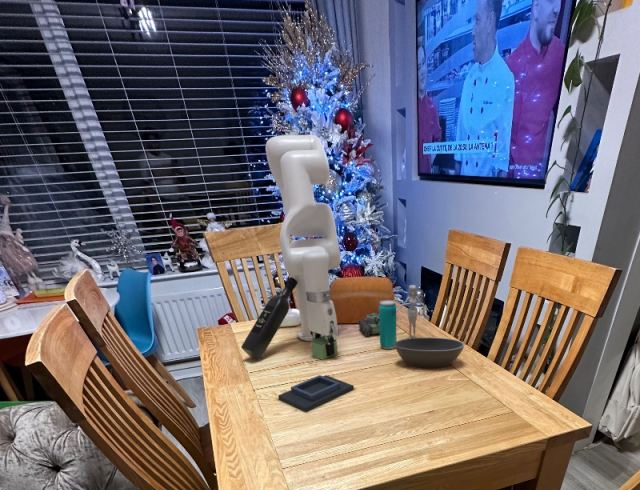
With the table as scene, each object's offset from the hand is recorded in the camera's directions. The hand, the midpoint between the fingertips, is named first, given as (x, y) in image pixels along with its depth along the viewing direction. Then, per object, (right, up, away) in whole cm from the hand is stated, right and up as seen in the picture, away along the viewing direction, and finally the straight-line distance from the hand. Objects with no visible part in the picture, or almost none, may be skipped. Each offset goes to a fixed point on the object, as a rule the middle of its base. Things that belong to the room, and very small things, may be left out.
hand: (325, 352), depth 146 cm
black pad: (+1, -20, -23) cm, 30 cm away
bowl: (+34, -6, -7) cm, 36 cm away
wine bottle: (-25, -2, -3) cm, 25 cm away
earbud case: (-19, +21, +28) cm, 40 cm away
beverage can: (+22, +3, +5) cm, 22 cm away
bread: (+12, +24, +31) cm, 41 cm away
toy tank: (+17, +14, +18) cm, 28 cm away
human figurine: (+30, +9, +11) cm, 34 cm away
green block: (0, -1, 0) cm, 1 cm away
